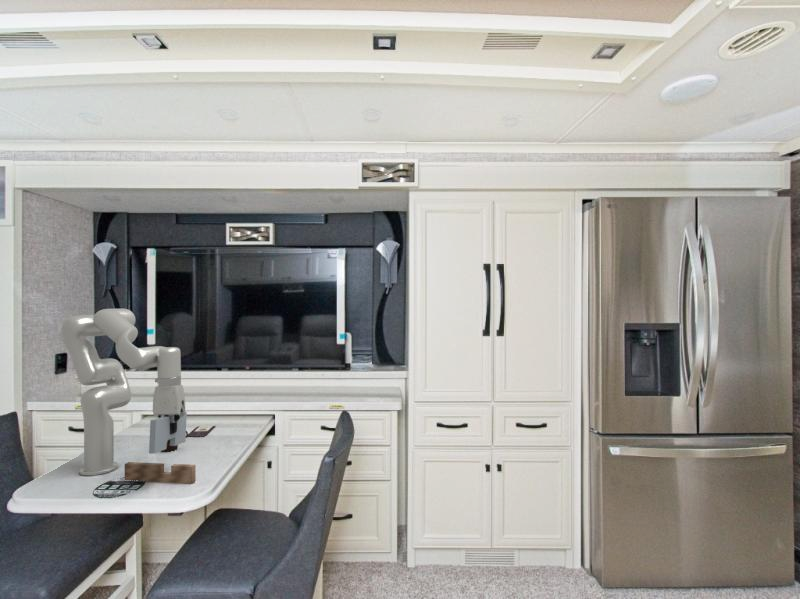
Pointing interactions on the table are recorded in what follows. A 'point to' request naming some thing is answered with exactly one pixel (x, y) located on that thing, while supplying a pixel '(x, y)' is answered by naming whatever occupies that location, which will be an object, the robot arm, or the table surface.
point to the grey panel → (166, 433)
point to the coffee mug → (171, 448)
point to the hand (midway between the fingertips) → (170, 432)
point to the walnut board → (160, 473)
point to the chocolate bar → (201, 431)
